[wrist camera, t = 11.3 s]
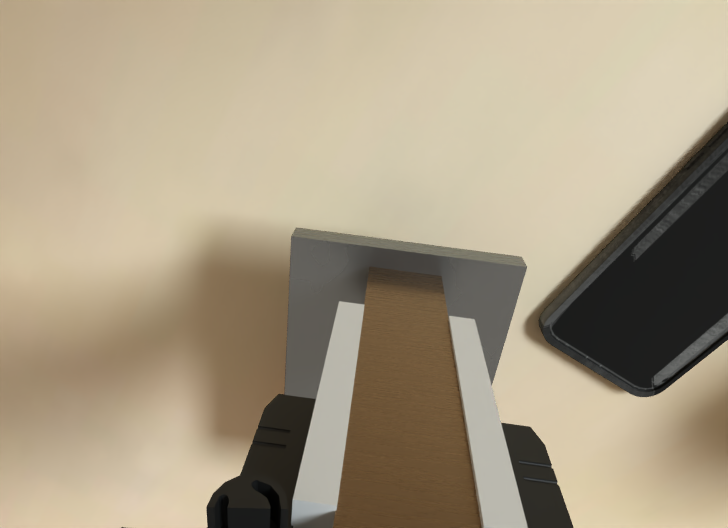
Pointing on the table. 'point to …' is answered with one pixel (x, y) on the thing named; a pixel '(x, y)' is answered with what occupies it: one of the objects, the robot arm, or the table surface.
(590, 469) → the table surface
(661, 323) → the phone
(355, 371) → the robot arm
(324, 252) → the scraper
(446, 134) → the table surface
